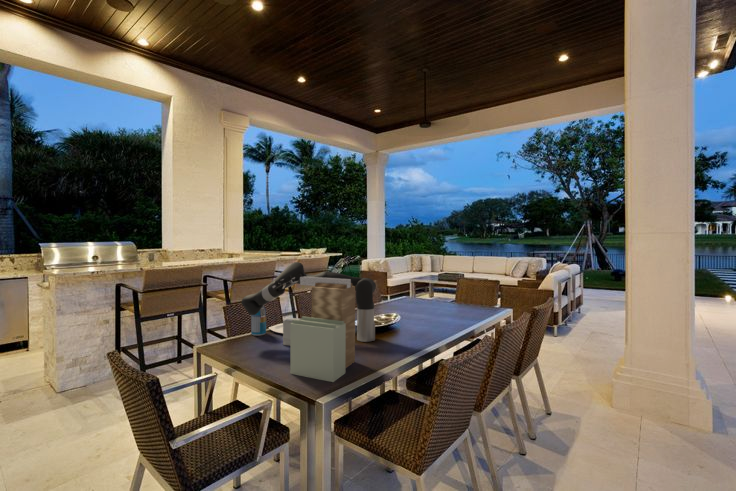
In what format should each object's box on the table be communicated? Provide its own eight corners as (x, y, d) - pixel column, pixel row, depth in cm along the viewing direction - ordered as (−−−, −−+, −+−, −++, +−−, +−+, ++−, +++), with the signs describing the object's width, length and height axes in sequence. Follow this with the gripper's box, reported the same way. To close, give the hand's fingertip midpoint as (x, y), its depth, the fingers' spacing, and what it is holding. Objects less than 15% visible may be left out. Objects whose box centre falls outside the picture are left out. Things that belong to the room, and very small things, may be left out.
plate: (297, 322, 232) (297, 319, 232) (326, 329, 215) (326, 326, 215) (261, 331, 211) (261, 327, 211) (290, 339, 194) (290, 335, 194)
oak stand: (311, 365, 154) (311, 283, 153) (326, 357, 165) (326, 280, 164) (341, 370, 148) (342, 285, 147) (354, 361, 159) (355, 282, 158)
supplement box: (296, 346, 181) (296, 321, 181) (282, 345, 182) (282, 320, 182) (301, 342, 188) (301, 318, 188) (288, 341, 190) (288, 317, 189)
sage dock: (290, 373, 144) (290, 320, 144) (304, 365, 154) (304, 315, 153) (333, 382, 136) (333, 326, 136) (345, 373, 145) (345, 320, 145)
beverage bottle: (250, 336, 198) (250, 300, 197) (251, 332, 206) (251, 298, 206) (266, 335, 200) (266, 300, 200) (266, 331, 208) (266, 297, 208)
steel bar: (300, 284, 161) (300, 277, 161) (304, 283, 164) (304, 276, 164) (346, 288, 151) (346, 280, 151) (350, 287, 154) (350, 279, 154)
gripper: (260, 286, 172) (284, 270, 166) (279, 282, 185) (301, 268, 179) (266, 300, 171) (290, 285, 165) (285, 295, 184) (308, 281, 178)
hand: (296, 276), depth 172 cm, fingers open, 8 cm apart
